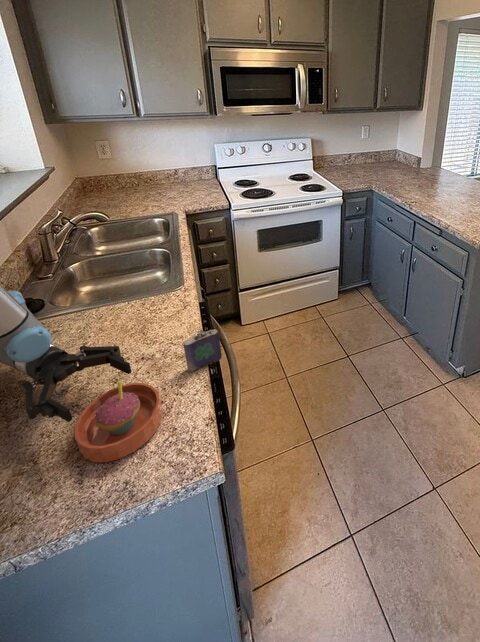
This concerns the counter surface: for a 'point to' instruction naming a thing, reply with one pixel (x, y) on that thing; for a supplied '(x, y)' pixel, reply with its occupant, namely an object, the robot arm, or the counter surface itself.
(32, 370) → the robot arm
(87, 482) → the counter surface
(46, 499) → the counter surface
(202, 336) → the flask
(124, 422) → the cupcake
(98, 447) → the bowl
